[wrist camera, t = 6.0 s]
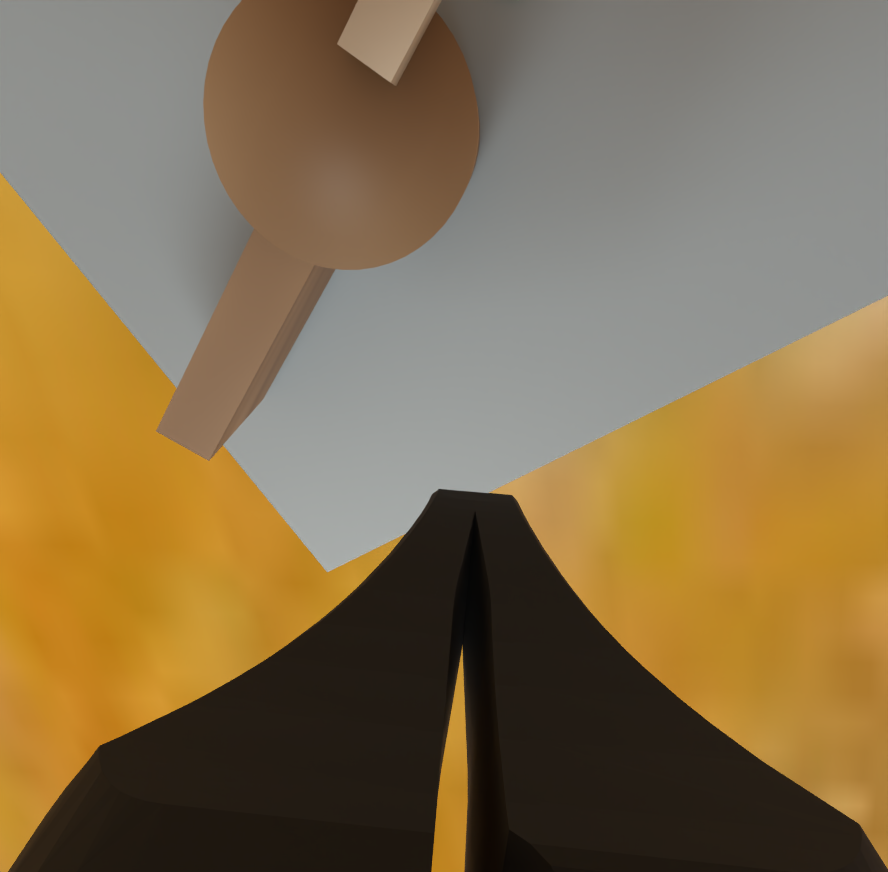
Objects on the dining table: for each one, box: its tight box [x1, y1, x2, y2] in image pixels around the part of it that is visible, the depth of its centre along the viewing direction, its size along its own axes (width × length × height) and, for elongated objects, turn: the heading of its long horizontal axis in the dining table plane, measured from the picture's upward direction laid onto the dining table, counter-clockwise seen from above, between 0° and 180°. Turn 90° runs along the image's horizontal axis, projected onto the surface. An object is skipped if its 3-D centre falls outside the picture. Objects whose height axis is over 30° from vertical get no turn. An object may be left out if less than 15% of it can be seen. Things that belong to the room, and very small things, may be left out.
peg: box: [156, 0, 480, 460], centre depth 12 cm, size 4×12×5 cm, turn 147°
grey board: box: [0, 0, 888, 572], centre depth 14 cm, size 18×16×1 cm
